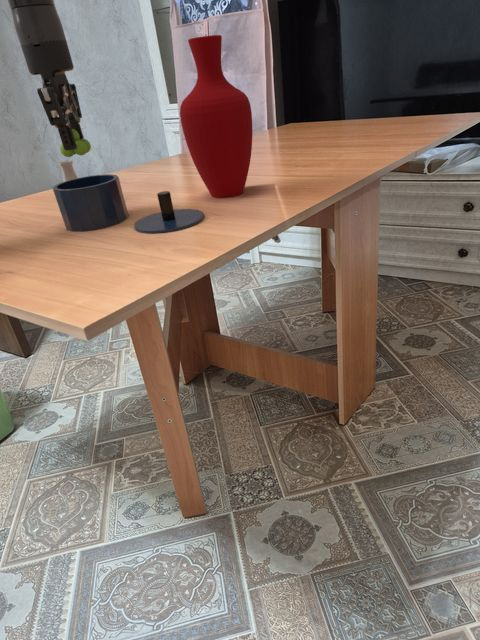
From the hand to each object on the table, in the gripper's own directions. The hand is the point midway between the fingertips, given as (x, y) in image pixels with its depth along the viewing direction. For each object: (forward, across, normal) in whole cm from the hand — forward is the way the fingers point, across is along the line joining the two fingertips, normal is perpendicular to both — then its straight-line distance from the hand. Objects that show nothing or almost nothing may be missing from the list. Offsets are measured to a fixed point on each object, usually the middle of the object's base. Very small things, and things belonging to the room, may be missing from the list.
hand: (75, 146), depth 89 cm
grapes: (+1, 0, 0) cm, 1 cm away
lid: (+14, +7, +16) cm, 23 cm away
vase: (+15, -10, +27) cm, 33 cm away
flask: (+15, -20, -10) cm, 27 cm away
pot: (+15, 0, 0) cm, 15 cm away
